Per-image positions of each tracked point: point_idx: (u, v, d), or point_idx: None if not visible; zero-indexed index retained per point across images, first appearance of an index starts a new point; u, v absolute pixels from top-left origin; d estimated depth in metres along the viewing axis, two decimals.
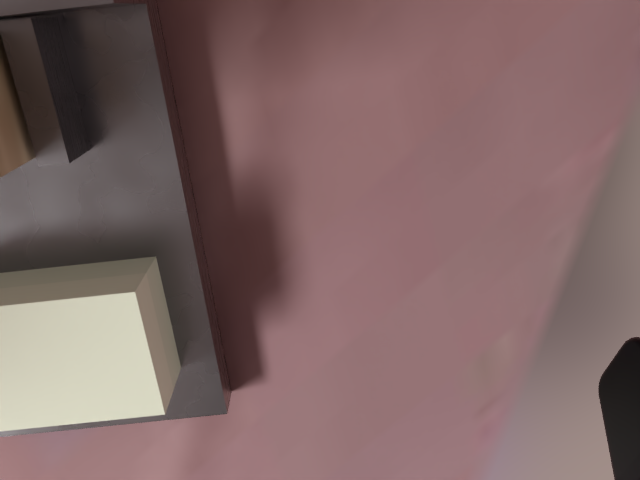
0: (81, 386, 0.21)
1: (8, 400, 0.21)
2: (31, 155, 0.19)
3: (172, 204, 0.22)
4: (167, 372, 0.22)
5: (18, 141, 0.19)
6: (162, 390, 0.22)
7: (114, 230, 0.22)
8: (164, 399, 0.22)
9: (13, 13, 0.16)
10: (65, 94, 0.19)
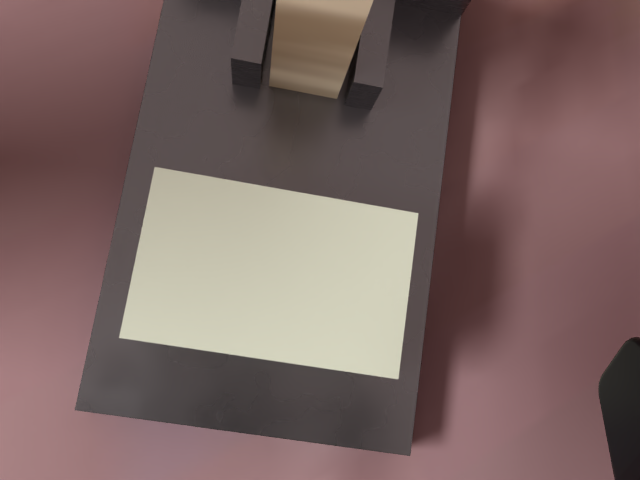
0: (315, 311, 0.17)
1: (221, 306, 0.17)
2: (344, 76, 0.20)
3: (428, 183, 0.21)
4: None
5: None
6: (398, 351, 0.18)
7: (363, 191, 0.21)
8: (397, 363, 0.18)
9: None
10: None
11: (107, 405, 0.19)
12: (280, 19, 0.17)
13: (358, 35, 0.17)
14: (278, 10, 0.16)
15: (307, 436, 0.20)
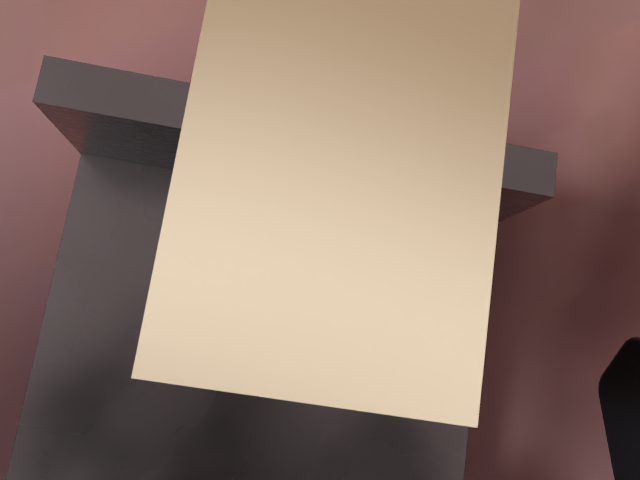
0: None
1: None
2: None
3: None
4: None
5: None
6: None
7: None
8: None
9: None
10: None
11: None
12: None
13: None
14: None
15: None
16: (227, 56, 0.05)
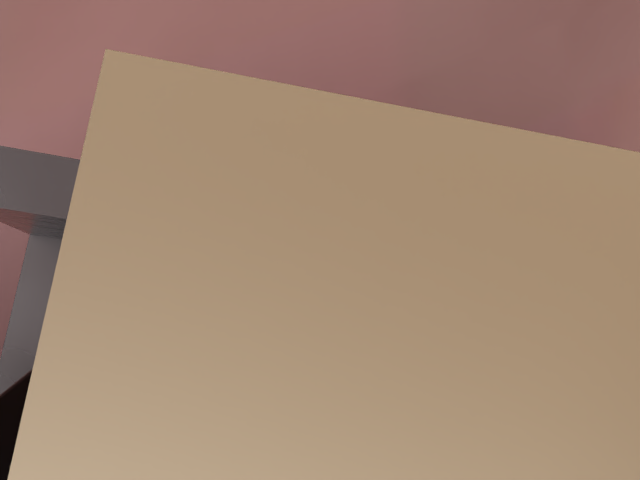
0: None
1: None
2: None
3: None
4: None
5: None
6: None
7: None
8: None
9: None
10: None
11: None
12: None
13: None
14: None
15: None
16: (81, 464, 0.02)
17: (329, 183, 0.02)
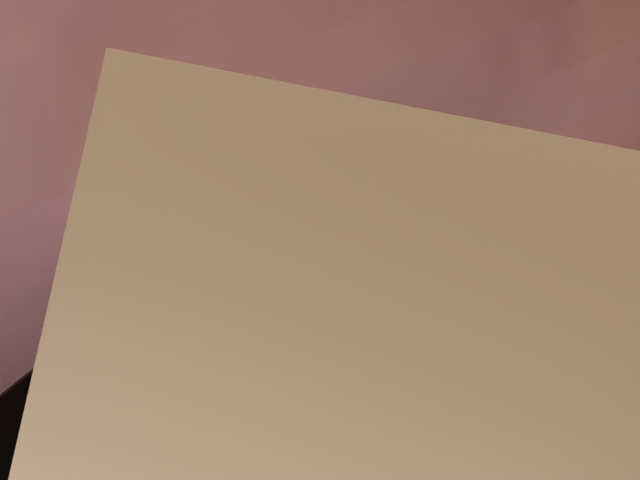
0: None
1: None
2: None
3: None
4: None
5: None
6: None
7: None
8: None
9: None
10: None
11: None
12: None
13: None
14: None
15: None
16: (82, 460, 0.02)
17: (330, 180, 0.02)
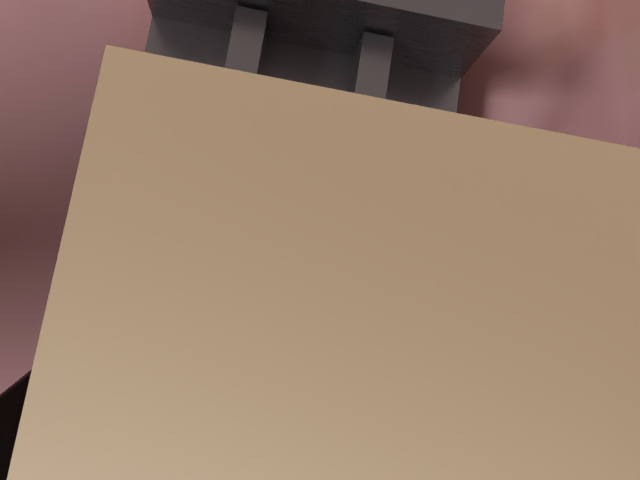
0: None
1: None
2: None
3: None
4: None
5: None
6: None
7: None
8: None
9: (413, 11, 0.18)
10: None
11: None
12: None
13: None
14: None
15: None
16: (79, 462, 0.02)
17: (330, 179, 0.02)
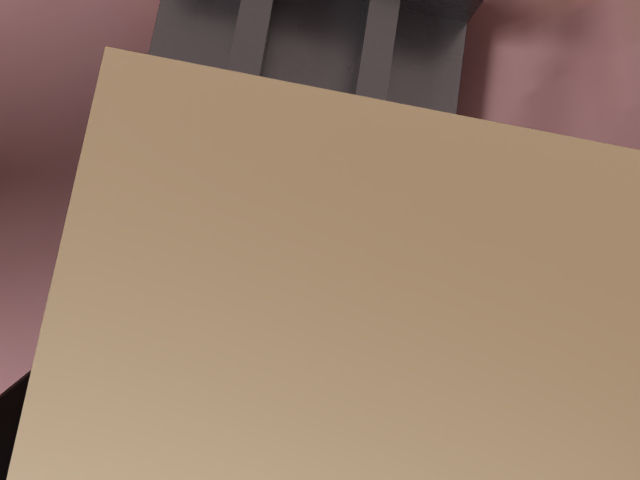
0: None
1: None
2: None
3: None
4: None
5: None
6: None
7: None
8: None
9: None
10: None
11: None
12: None
13: None
14: None
15: None
16: (79, 462, 0.02)
17: (331, 181, 0.02)
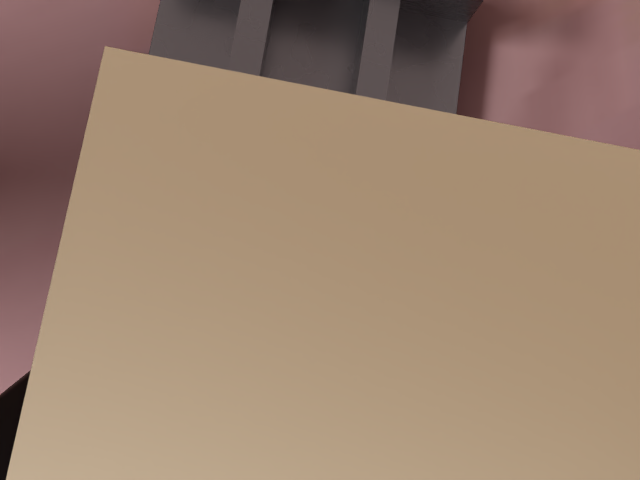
0: None
1: None
2: None
3: None
4: None
5: None
6: None
7: None
8: None
9: None
10: None
11: None
12: None
13: None
14: None
15: None
16: (79, 462, 0.02)
17: (330, 181, 0.02)
